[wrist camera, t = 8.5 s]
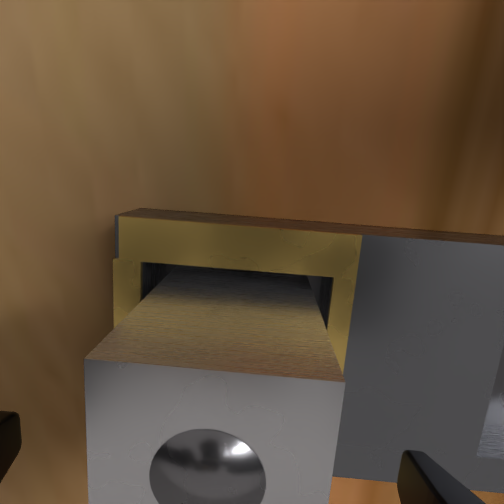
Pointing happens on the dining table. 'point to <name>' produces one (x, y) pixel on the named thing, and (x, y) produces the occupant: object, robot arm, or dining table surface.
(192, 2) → the dining table surface
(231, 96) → the dining table surface
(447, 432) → the grey socket board
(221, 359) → the square slider block
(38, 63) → the dining table surface
